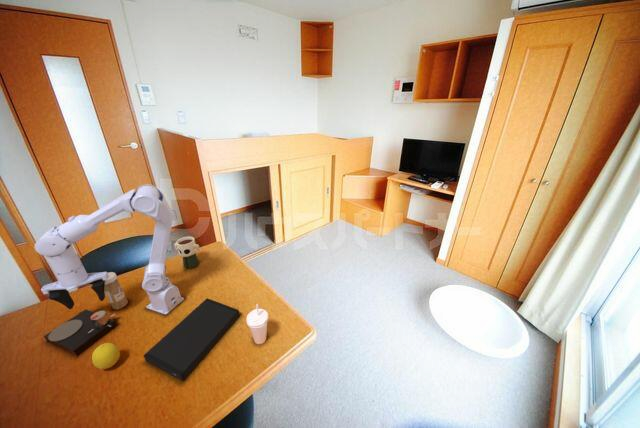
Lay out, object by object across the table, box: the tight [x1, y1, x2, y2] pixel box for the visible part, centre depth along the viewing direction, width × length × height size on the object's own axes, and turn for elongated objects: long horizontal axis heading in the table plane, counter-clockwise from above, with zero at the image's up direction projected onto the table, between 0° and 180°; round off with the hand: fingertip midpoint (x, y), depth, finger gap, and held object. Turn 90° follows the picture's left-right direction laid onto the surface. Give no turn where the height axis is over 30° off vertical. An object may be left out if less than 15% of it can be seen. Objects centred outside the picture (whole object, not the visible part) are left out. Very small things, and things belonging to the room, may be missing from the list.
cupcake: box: [91, 310, 110, 328], centre depth 75 cm, size 4×4×4 cm
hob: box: [43, 308, 118, 357], centre depth 76 cm, size 15×13×3 cm
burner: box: [48, 320, 83, 342], centre depth 74 cm, size 8×8×1 cm
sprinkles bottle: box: [104, 271, 129, 310], centre depth 83 cm, size 5×5×14 cm
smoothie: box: [245, 303, 269, 345], centre depth 72 cm, size 6×6×14 cm
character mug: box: [173, 236, 201, 269], centre depth 105 cm, size 11×7×13 cm, turn 87°
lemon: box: [91, 342, 121, 370], centre depth 65 cm, size 6×6×8 cm
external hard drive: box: [143, 298, 240, 382], centre depth 74 cm, size 14×23×3 cm, turn 158°
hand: (87, 302), depth 75 cm, fingers open, 7 cm apart
